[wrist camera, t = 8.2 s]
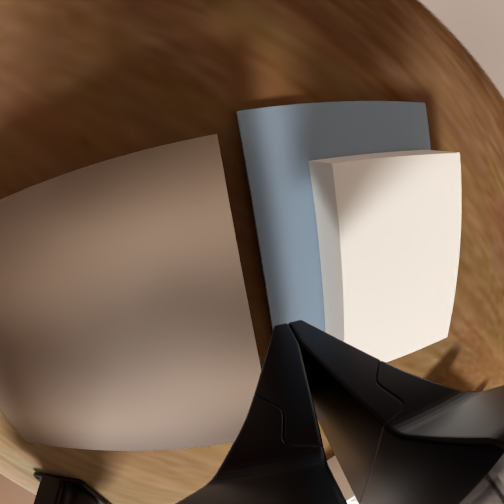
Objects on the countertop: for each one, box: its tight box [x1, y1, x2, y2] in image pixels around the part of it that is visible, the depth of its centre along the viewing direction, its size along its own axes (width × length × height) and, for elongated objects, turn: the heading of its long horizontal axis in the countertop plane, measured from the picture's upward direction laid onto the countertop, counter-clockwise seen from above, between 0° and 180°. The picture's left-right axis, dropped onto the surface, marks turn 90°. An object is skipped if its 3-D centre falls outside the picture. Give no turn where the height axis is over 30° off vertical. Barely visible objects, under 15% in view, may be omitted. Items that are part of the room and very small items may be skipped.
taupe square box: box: [0, 134, 261, 451], centre depth 11 cm, size 12×14×4 cm
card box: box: [309, 150, 461, 363], centre depth 12 cm, size 9×6×3 cm, turn 9°
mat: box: [236, 101, 431, 332], centre depth 14 cm, size 14×9×1 cm, turn 9°
